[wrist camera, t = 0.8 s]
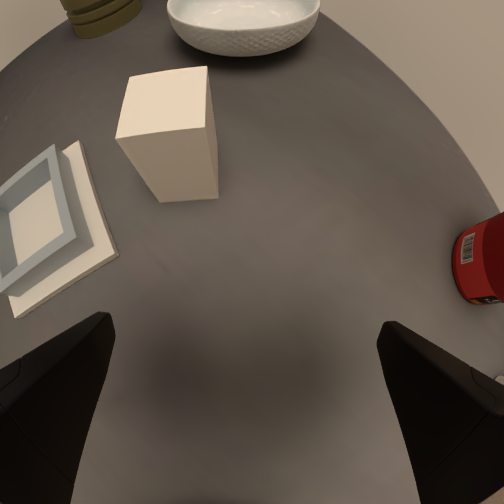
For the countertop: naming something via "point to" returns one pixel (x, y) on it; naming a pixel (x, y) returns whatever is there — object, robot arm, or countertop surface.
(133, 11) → the piston
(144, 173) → the plug
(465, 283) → the canned food
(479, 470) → the robot arm
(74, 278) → the socket
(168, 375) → the countertop surface
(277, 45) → the cereal bowl
